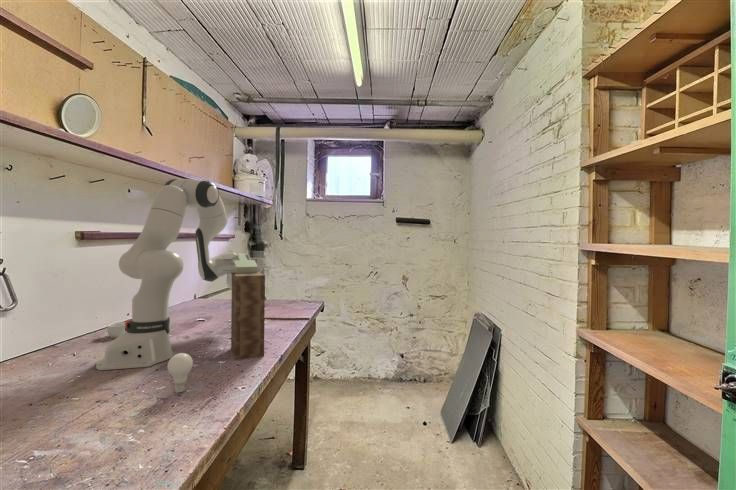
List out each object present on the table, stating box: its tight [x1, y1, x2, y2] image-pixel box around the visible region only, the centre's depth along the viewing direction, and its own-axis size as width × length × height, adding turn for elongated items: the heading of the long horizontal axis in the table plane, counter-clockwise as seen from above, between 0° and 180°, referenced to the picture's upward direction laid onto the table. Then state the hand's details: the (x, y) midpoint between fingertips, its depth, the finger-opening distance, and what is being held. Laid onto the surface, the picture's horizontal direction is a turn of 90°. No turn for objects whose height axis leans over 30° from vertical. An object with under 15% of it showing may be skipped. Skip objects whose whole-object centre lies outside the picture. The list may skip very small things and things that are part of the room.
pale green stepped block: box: [234, 252, 258, 273], centre depth 144 cm, size 8×19×2 cm, turn 27°
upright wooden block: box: [230, 272, 266, 361], centre depth 134 cm, size 10×14×30 cm
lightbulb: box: [166, 352, 194, 394], centre depth 99 cm, size 6×6×11 cm
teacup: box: [106, 321, 126, 339], centre depth 152 cm, size 10×8×5 cm
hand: (242, 256), depth 148 cm, fingers closed on pale green stepped block, 3 cm apart
